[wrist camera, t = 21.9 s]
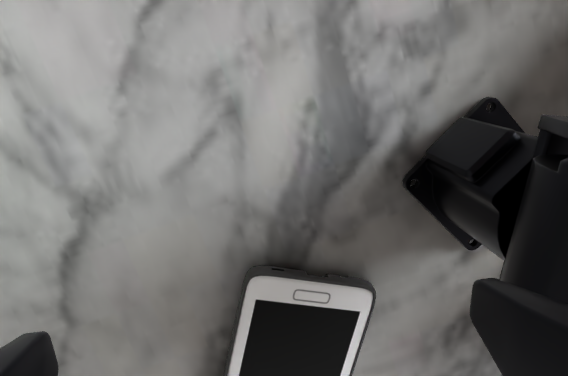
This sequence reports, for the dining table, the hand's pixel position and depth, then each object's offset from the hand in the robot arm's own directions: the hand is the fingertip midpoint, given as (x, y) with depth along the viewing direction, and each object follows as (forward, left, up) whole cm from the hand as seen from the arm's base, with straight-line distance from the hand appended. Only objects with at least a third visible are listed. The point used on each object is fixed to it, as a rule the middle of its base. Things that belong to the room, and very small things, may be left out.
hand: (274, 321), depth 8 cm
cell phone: (-11, +9, -13) cm, 19 cm away
